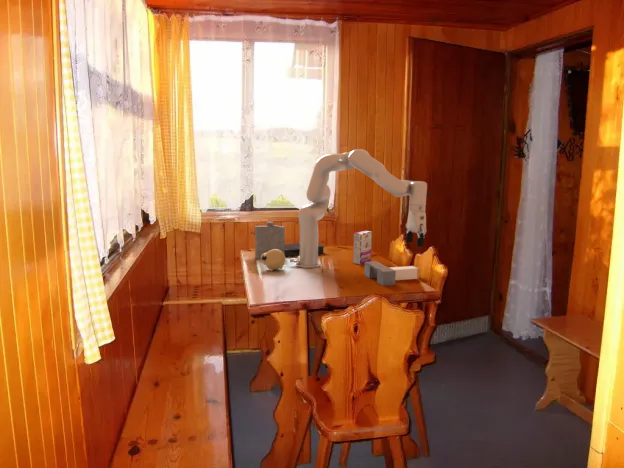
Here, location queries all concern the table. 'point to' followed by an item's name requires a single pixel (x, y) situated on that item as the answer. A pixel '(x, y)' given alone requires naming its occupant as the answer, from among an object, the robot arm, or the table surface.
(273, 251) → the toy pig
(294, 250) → the diary
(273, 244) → the hip flask
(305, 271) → the table surface
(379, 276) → the block
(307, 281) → the table surface
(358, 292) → the table surface
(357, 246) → the candy bar box
